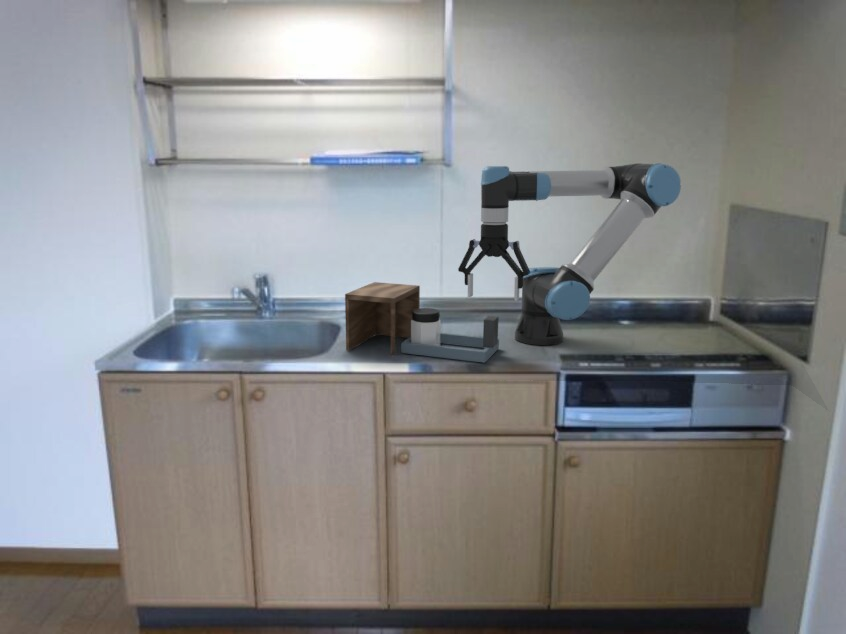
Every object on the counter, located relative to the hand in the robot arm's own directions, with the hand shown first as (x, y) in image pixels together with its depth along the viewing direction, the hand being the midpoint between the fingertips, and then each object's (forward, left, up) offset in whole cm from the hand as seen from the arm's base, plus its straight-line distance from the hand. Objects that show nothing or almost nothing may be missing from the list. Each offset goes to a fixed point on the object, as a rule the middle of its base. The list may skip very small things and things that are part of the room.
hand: (493, 298), depth 191 cm
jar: (+20, +2, -17) cm, 26 cm away
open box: (+33, 0, -17) cm, 37 cm away
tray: (+12, 0, -17) cm, 21 cm away
